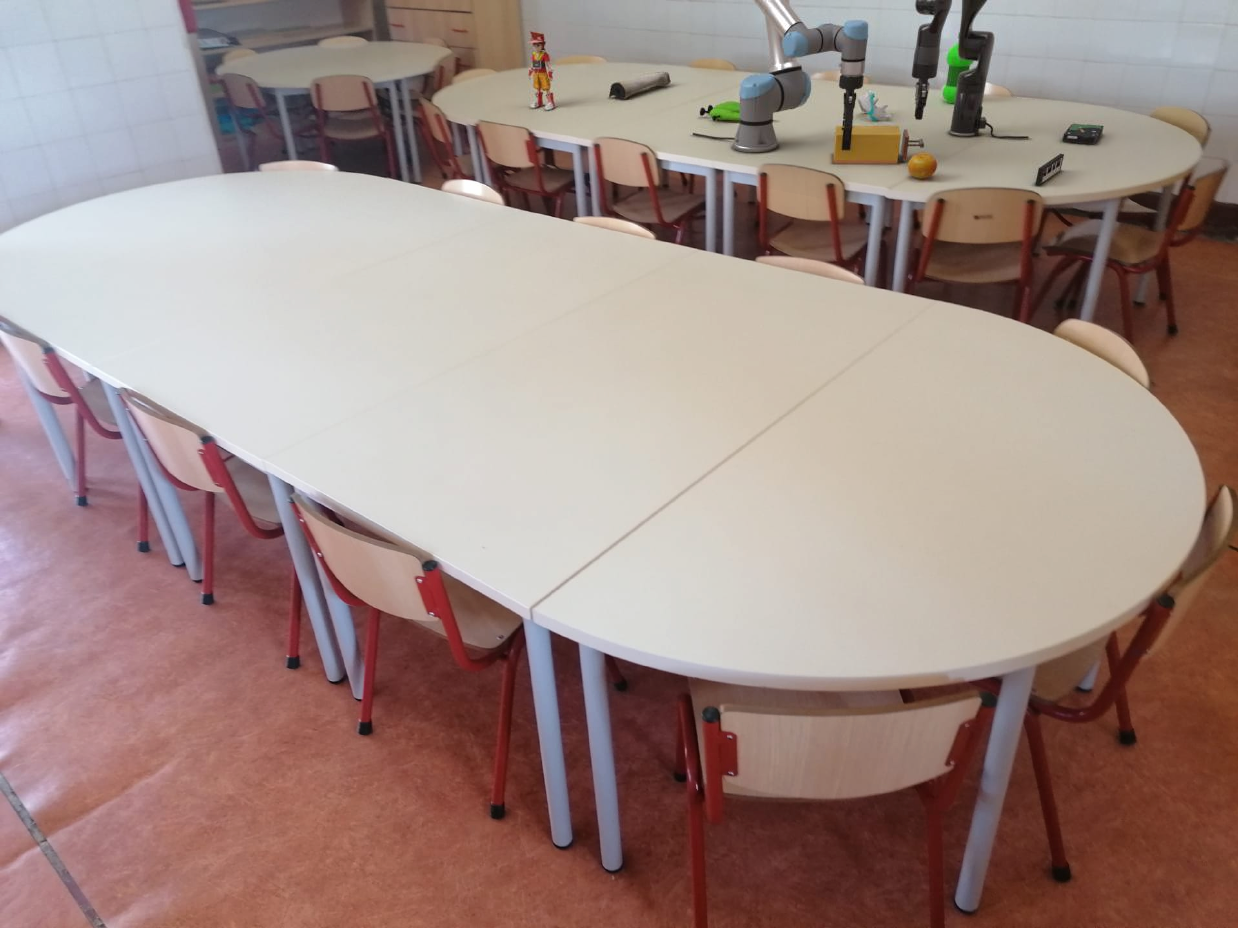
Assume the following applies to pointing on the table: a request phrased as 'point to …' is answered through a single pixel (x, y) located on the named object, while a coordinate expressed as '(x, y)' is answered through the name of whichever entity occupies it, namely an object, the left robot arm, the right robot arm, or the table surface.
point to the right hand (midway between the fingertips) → (918, 118)
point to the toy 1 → (541, 71)
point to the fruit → (922, 165)
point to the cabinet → (868, 145)
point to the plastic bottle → (954, 73)
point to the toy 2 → (723, 111)
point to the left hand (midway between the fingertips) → (845, 145)
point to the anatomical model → (872, 107)
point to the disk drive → (1083, 133)
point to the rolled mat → (638, 84)
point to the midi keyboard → (1049, 169)
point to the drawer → (905, 144)
